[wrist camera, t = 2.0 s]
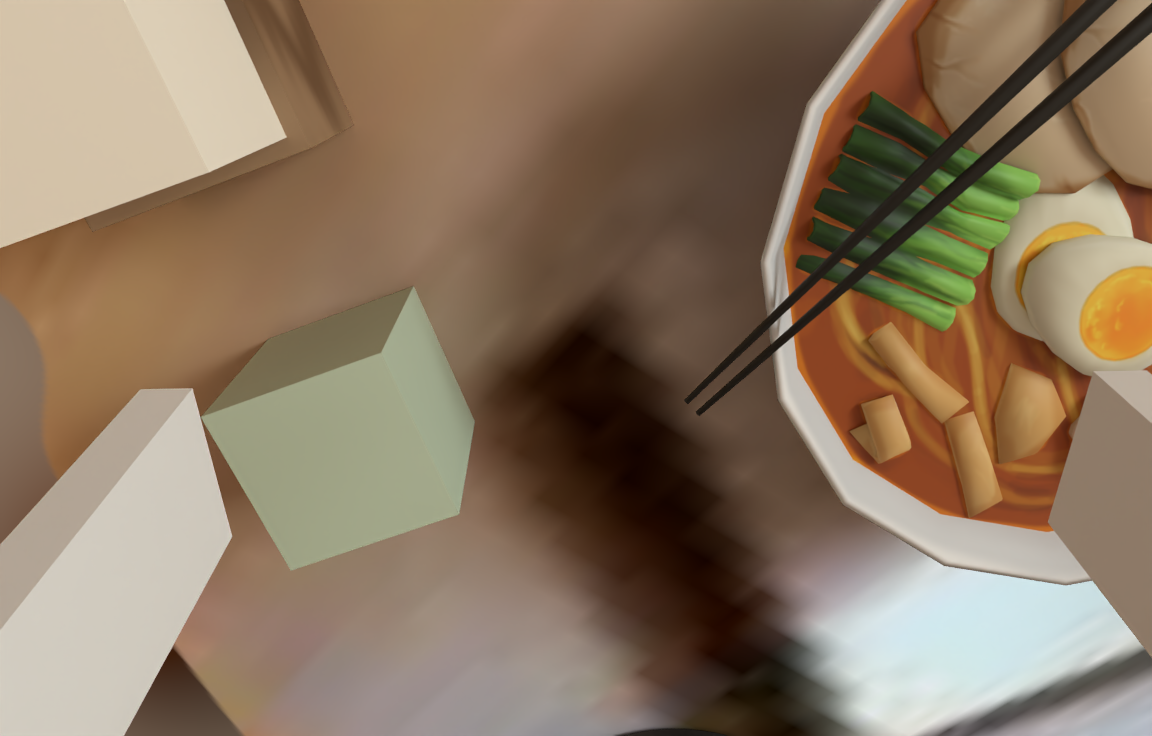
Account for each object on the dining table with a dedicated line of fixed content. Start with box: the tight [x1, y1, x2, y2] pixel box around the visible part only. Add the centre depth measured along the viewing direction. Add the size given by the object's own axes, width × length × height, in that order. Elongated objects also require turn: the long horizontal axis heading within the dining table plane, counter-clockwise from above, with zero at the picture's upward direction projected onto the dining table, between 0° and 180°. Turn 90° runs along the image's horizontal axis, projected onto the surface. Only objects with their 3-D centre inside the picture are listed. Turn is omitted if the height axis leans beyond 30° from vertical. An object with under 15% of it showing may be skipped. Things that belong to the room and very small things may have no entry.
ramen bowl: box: [684, 0, 1152, 585], centre depth 28 cm, size 25×23×8 cm
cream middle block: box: [0, 0, 286, 248], centre depth 21 cm, size 6×6×6 cm
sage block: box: [201, 286, 475, 570], centre depth 30 cm, size 6×6×7 cm
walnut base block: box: [84, 0, 354, 232], centre depth 26 cm, size 7×7×6 cm
